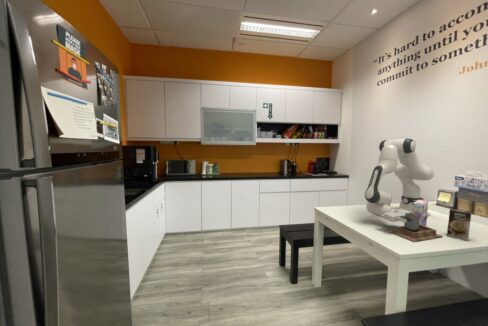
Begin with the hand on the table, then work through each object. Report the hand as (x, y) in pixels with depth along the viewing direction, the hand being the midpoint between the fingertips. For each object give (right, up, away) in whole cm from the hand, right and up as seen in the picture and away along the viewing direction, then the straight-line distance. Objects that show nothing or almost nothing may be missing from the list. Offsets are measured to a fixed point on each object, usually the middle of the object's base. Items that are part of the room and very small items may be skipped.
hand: (412, 220), depth 128 cm
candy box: (+19, -9, +19) cm, 28 cm away
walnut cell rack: (+4, -9, +2) cm, 10 cm away
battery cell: (0, -8, +1) cm, 8 cm away
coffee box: (+27, -10, 0) cm, 29 cm away
